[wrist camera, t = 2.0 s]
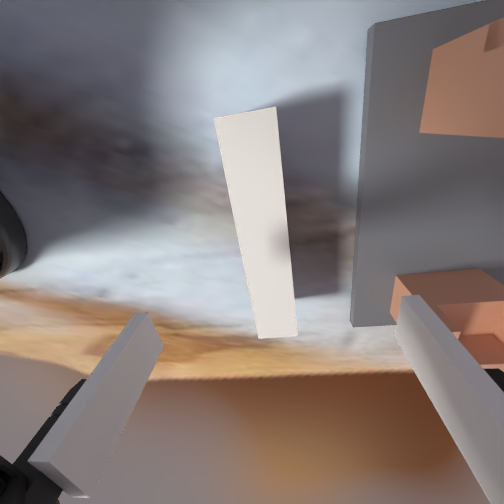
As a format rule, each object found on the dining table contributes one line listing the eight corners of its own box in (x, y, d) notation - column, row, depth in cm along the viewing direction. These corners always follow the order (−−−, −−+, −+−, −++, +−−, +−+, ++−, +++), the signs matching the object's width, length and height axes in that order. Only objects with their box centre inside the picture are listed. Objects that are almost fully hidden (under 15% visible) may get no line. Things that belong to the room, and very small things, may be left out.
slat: (260, 300, 30) (258, 338, 24) (227, 119, 20) (213, 118, 15) (292, 297, 29) (297, 336, 24) (274, 110, 20) (276, 106, 15)
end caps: (349, 320, 30) (379, 390, 22) (367, 29, 17) (455, -53, 9) (490, 311, 28) (578, 385, 20) (633, -25, 15) (1041, -191, 7)
